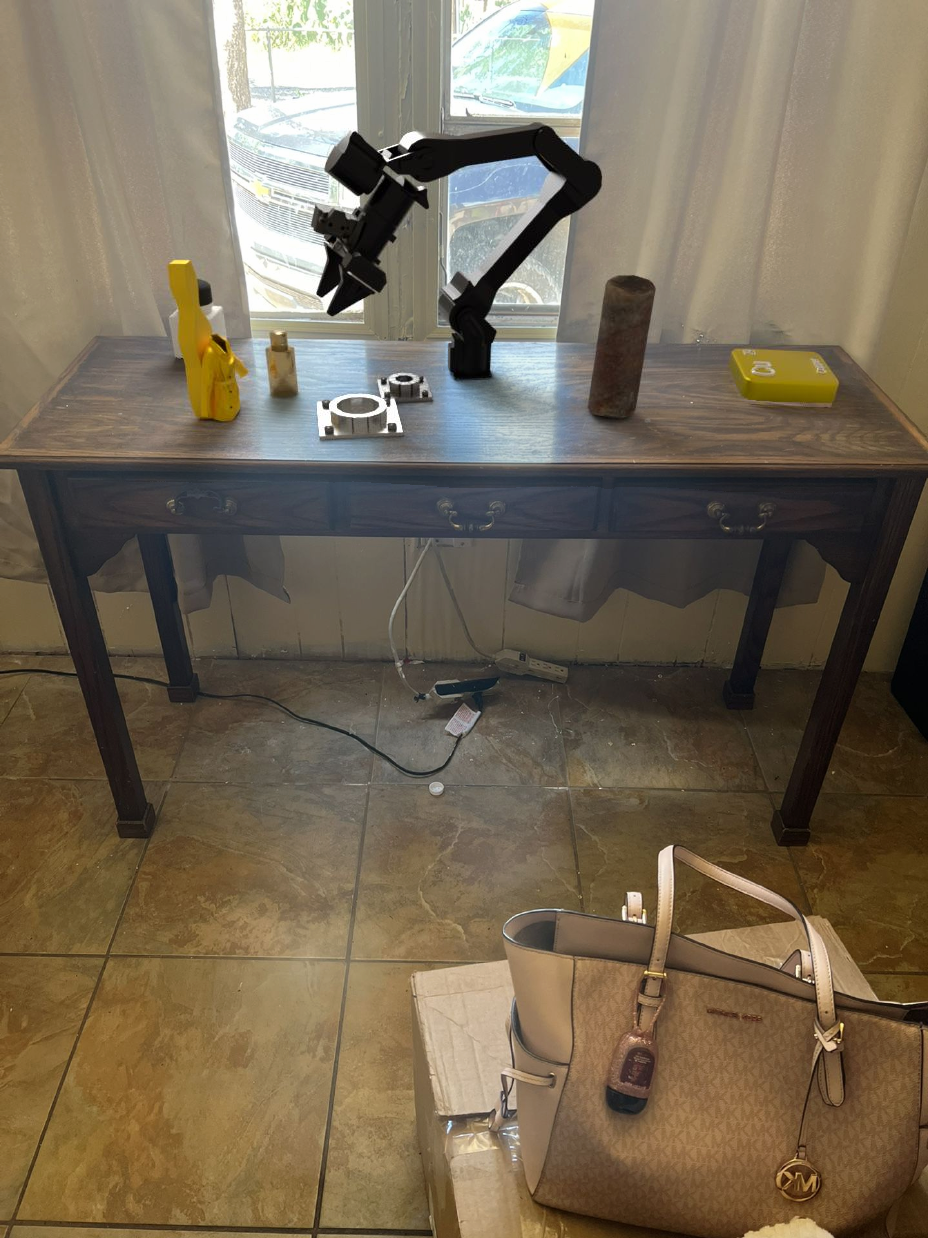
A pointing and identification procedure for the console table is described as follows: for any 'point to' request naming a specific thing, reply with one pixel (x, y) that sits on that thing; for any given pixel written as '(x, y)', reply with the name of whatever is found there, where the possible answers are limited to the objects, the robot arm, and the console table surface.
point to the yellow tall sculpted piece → (204, 351)
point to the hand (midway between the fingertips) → (323, 305)
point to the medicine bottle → (210, 311)
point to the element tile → (782, 376)
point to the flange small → (404, 388)
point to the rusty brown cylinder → (621, 346)
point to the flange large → (358, 417)
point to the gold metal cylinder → (281, 366)
